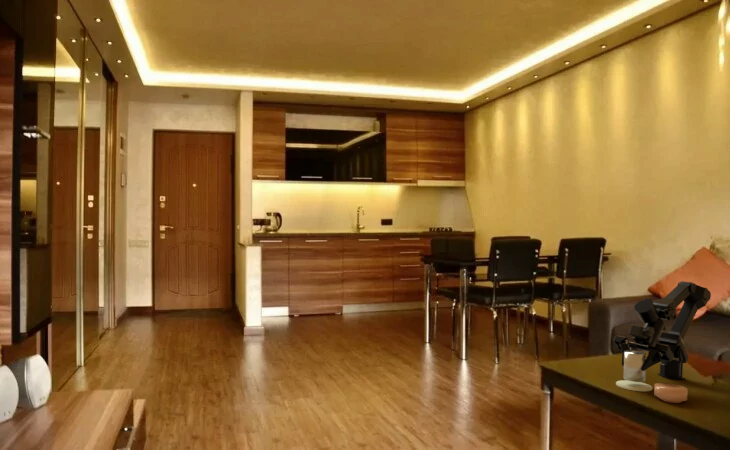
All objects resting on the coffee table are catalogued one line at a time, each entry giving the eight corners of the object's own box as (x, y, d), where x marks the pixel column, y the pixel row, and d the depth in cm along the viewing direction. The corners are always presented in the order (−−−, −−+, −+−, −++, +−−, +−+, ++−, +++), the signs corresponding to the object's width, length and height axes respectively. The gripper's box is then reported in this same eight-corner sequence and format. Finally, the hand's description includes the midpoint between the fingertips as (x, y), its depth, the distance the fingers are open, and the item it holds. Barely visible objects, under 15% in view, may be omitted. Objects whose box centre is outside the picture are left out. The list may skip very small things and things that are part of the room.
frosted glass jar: (643, 377, 187) (644, 351, 187) (646, 383, 181) (647, 355, 181) (622, 375, 189) (623, 349, 189) (624, 380, 183) (625, 353, 183)
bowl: (673, 395, 177) (674, 382, 177) (694, 404, 168) (694, 391, 168) (647, 395, 176) (648, 382, 176) (666, 404, 167) (667, 391, 167)
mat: (638, 381, 192) (638, 380, 192) (659, 391, 181) (659, 389, 181) (609, 381, 190) (609, 380, 190) (628, 391, 179) (628, 390, 179)
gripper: (616, 312, 195) (597, 347, 189) (670, 321, 180) (651, 359, 174) (628, 332, 200) (609, 366, 193) (681, 342, 184) (663, 380, 178)
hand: (632, 367), depth 185 cm, fingers closed on frosted glass jar, 6 cm apart
